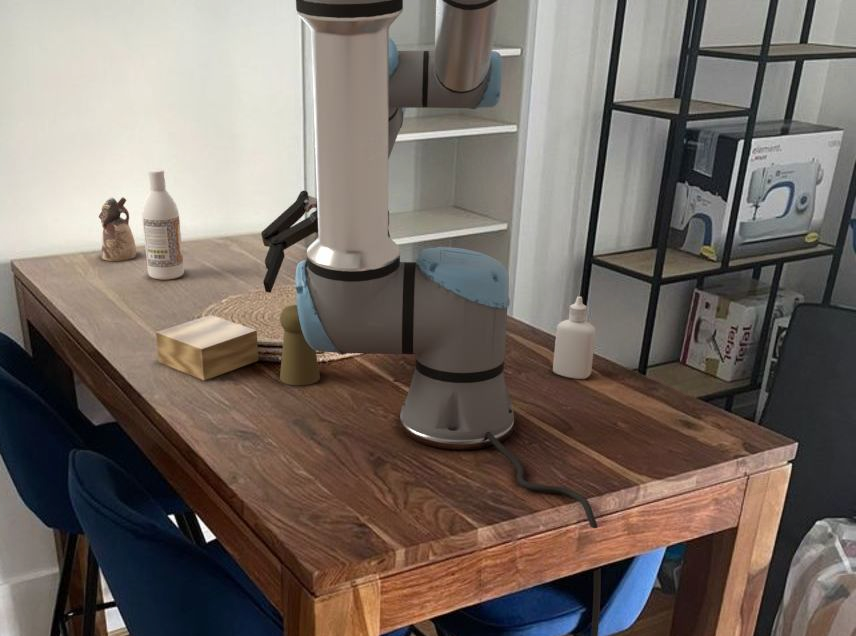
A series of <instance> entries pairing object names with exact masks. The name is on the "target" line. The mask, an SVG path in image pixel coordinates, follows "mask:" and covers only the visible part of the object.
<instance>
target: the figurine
mask: <svg viewBox="0 0 856 636" xmlns="http://www.w3.org/2000/svg"><path fill="white" fill-rule="evenodd" d="M126 202H127V199H126V198H125V197H124V196H122V197H121V198H120V199H119V201H117V200H116V198H115V197H108V198H107V200H106V201H105V202H104V203H103V204H102V207H101V211H100V213H99V215H98V218H99V220H100V224H101V227H102V239H101V240H102V242H101V243H102V244H101V259H103V260H105V261H108V262H122V261H127V260H131V259H134V258H135V257H136V256H137V245H136V242H135V238H134V237H135V236H134V234H133V232H132V229H131V226H130V224H129V221H130V213H129V211H128V209H127V208H126V207H125V206H124V205H125V204H126ZM121 214H125V216H126V217H125V218H123V217H121Z"/></svg>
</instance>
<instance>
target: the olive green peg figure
mask: <svg viewBox="0 0 856 636" xmlns="http://www.w3.org/2000/svg"><path fill="white" fill-rule="evenodd" d="M279 322H280V323H279V324H280V327H282V329H283V341H282V352H281V363H280V372H279V380H280V382H282V383H284V384H286V385H290V386H308V385H309V386H310V385H313V384H315V383H317V382H318V381H319V380H320V378H321V376H320V375H321V374H320V369H319V362H318V357H317V351H316V350H314V349H312V348H311V347H310V346H309V345H308V343H307V342H306V340H305V338H304V335H303V332H302V329H301V325H300V320H299V315H298V309H297V304H292V305H289V306H286V307H284V308H283V309H282V310H281V311H280V316H279Z"/></svg>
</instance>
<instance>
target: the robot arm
mask: <svg viewBox="0 0 856 636" xmlns="http://www.w3.org/2000/svg"><path fill="white" fill-rule="evenodd" d="M500 3H501V0H435V32H434V33H435V34H434V50H398V47H397V44H396V43H395V41H394V40H393V39H392V38H391V37H390V27H391V26H392V24H393V23H394V22H395V21H396V20H397V18H398V17H399V16H401V14H402V13H403V11H404V0H295V9H296V11H295V13H296V14H297V15H298V17H299V18H300V19H301V20H302V21H303V22H304V23H305V24H306V25H307V26H308V27H309V29H310V35H311V36H310V37H311V38H310V39H311V64H312V65H311V66H312V67H311V68H312V92H313V94H312V95H313V115H314V116H313V121H314V123H313V124H314V148H315V149H314V151H315V152H314V153H315V178H316V197H313V196H311V195H309V192H308V191H306V190H301V191H300V193H299V194H298V196H297V197H296V199H295V201H294V202H293V203H292V204H290V206H289V207H288V208H287V209H286V210H284V211H283V212H282V213H281V214H280V215H279V216H278V217H277V218H275V219H274V220H273V221H272V222H271V223H270V224H269V225H267V226H266V227H265V228H264V229H263V230H262V231H261V240H262V243H263V245H264V247H268V250H267V253H266V256H265V258H264V264H265V269H266V270H267V271H266V273H265V276H264V278H263V281H262V283H263V287H264V291H265V293H269V294H271V293H272V290H273V288H274V285H275V283H276V280H277V278H278V275H279V272H280V269H281V267H282V264H283V262H284V259H285V257H286V256H285V250H287V249H289V248H290V247H292V246H294V245H295V244H297V243H299V242H300V241H302V240H304V239H306V238H308V237H309V236H311V235H313V234H314V233H316V234H318V236H317V238H316V239H315V240H314V241H313V242H312V243H311V244H310V245H309V246H308V248H307V250H306V258H305V259H304V260H301V261H299V262H298V264H297V266H296V268H295V281H294V283H295V291H296V296H295V298H296V299H295V300H296V305H297V309H298V315H299V320H300V325H301V329H302V332H303V335H304V338H305V340H306V342H307V343H308V345H309V346H310V347H311V348H312V349H314V350H316V352H321V353H336V354H338V355H342V356H343V355H346V354H363V355H365V354H368V355H415V361H414V363H415V364H414V374H413V376H412V379H411V383H410V385H409V389H408V392H407V395H406V397H405V398H406V399H405V400H404V401H403V402H402V403H403V404H402V406H401V409H400V420H399V421H400V428H401V431H402V432H403V433H404V435H406V436H407V437H408V438H410V439H412V440H414V441H415V442H417V443H420V444H423V445H426V446H429V447H434V448H439V449H445V450H460V451H461V450H462V451H463V450H465V451H466V450H477V449H482V448H488V447H493V446H495V448H496V449H497V450H498V451H499V452H500V453H501V454H502V455H503V456H504V457H505V458H506V459H507V460H508V461H509V462H511V464H512V465H513V466H514V467H515V469H516V471H517V473H516V481H517V483H518V484H519V485H520V486H521V487H523V488H525V489H527V490H530V491H534V492H543V493H555V494H562V495H565V496H568V497H570V498H572V499H573V500H576V501H577V502H579V503H580V504H581V506H582V508H583V510H584V512H585V515H586V518H587V521H588V523H589V526H590V527H591V528H593V529H598V523H597V520H596V518H595V515H594V512H593V509H592V507H591V504H590V502H589V501H588V499H587V498H586V497H585V496H583V495H582V494H580V493H578V492H576V491H574V490H572V489H569V488H567V487H563V486H558V485H547V484H546V485H544V484H535V483H531V482H528V481H527V480H525V479H524V474H525V471H524V467H523V465H522V464H521V462H520V461H519V460H518V459H517V458H516V456H515V455H513V454H512V453H511V452H510V451H509V450H508V449H507V448H506V446H505V445H503V444H502V443H501V442H504V441H505V440H507V439H508V438H509V437H510V436H511V435H512V434H513V431H514V427H515V415H514V408H513V406H512V403H511V399H510V393H509V389H508V386H507V382H506V379H505V374H504V373H505V372H504V371H505V358H506V357H505V356H506V338H507V325H508V324H507V323H508V308H509V307H510V305H511V299H510V275H509V271H508V270H507V268H506V267H505V266H504V264H503V263H502V262H501V261H499V260H497V259H495V258H494V257H492V256H489V254H488V255H487V254H484V253H482V252H478V251H476V250H470V249H465V248H460V247H453V246H452V247H451V246H437V247H428V248H423V249H422V250H421V251H419V253H418V254H417V257H416V258H415V261H413V262H412V261H407V262H406V261H401V248H400V246H399V245H398V244H397V243H396V242H395V241H394V240H393V239H392V238H391V234H390V230H389V226H390V211H389V159H390V157H391V155H392V151H393V149H394V146H395V143H396V140H397V138H398V135H399V133H400V132H401V129H402V128H403V123H404V118H405V113H406V109H407V108H411V109H413V108H414V109H415V108H416V109H417V108H418V109H422V108H425V109H426V108H428V109H470V110H477V109H480V108H484V109H485V108H494V107H496V106H498V104H499V103H500V99H501V91H502V80H503V78H502V77H503V57H502V55H501V54H500V52H498V51H495V50H493V47H494V41H495V35H496V30H497V22H498V16H499V11H500ZM312 209H316V210H315V211H313V212H311V213H310V211H311V210H312ZM306 213H310V214H309V216H308V217H306V218H305V219H302V220H301V218H302V217H303V216H304V215H305V214H306ZM297 222H298V223H297ZM601 572H602V569H601V568H598V569H596V570H594V571H593V594H592V595H593V596H592V599H593V600H592V615H591V618H592V619H591V632H590V636H599V624H600V610H601V587H602V586H601V585H602V584H601V583H602V582H601V579H602V578H601V577H602V575H601V574H602V573H601Z"/></svg>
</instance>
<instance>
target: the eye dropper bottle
mask: <svg viewBox="0 0 856 636" xmlns="http://www.w3.org/2000/svg"><path fill="white" fill-rule="evenodd" d="M587 312H588V306H587V305H585V304H584V303H583V297H582V296H579V295H578V296H577V297H576V299H575V302H574V303H572V304H571V305H569V314H568V319H564V320H562V321H561V322H559V323H558V324H557V326H556V331H555V332H556V333H555V342H554V352H553V363H552V372H553V373H554V374H556V375H559V376H561V377H564V378H568V379H574V380H585V379H587V378H589V377H590V376H591V375H592V369H593V361H594V360H593V359H594V352H595V342H596V328H595V326H594V325H593V324H591V323H590V322H589V321H586V319H587Z"/></svg>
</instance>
